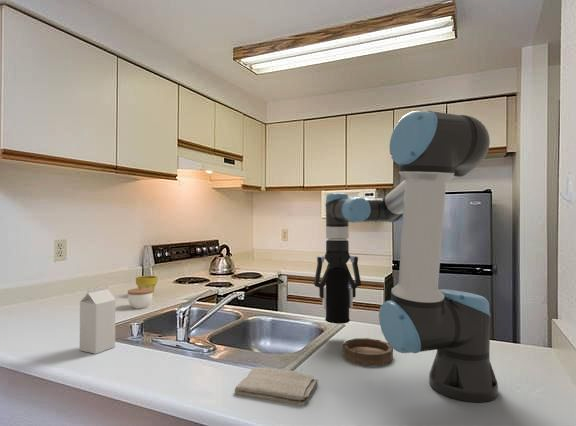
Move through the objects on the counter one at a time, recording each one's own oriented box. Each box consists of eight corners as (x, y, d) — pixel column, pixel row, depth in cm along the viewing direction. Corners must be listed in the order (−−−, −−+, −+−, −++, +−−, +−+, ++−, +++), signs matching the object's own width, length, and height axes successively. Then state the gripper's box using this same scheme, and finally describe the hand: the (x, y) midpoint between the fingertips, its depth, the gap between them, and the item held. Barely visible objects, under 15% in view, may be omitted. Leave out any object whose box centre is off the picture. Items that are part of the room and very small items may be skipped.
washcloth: (307, 408, 83) (307, 394, 83) (232, 397, 88) (232, 383, 88) (319, 385, 94) (319, 373, 94) (252, 376, 100) (252, 364, 100)
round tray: (399, 364, 107) (399, 354, 107) (350, 366, 105) (350, 355, 105) (382, 347, 121) (382, 337, 121) (339, 348, 119) (339, 338, 119)
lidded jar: (146, 303, 179) (146, 283, 179) (157, 307, 172) (157, 286, 172) (123, 307, 172) (123, 286, 172) (133, 311, 164) (134, 289, 164)
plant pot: (159, 293, 201) (159, 275, 201) (154, 298, 190) (154, 278, 190) (139, 294, 200) (139, 275, 200) (132, 298, 190) (132, 278, 190)
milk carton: (115, 347, 120) (115, 286, 120) (95, 354, 113) (95, 290, 113) (99, 343, 123) (100, 284, 123) (79, 351, 116) (79, 288, 116)
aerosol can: (334, 325, 122) (334, 262, 122) (320, 319, 129) (320, 259, 129) (355, 321, 125) (354, 261, 126) (340, 316, 133) (340, 258, 133)
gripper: (364, 238, 132) (365, 304, 132) (304, 239, 130) (304, 305, 130) (371, 239, 125) (371, 309, 124) (307, 240, 123) (307, 310, 123)
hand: (337, 307), depth 127 cm, fingers closed on aerosol can, 8 cm apart
